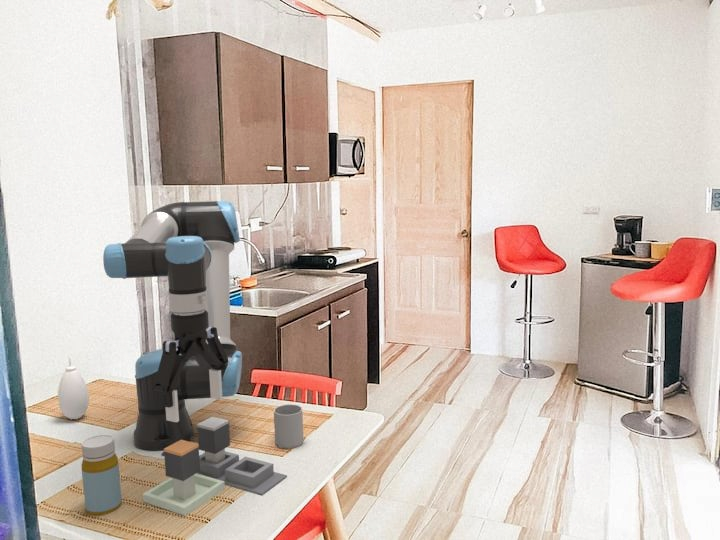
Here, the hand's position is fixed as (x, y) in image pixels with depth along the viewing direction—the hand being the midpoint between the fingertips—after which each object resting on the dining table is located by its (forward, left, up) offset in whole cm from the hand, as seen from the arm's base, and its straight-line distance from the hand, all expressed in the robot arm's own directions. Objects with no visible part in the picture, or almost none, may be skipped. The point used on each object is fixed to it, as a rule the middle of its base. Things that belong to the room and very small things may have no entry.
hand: (195, 409), depth 133 cm
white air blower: (-62, +15, -20) cm, 67 cm away
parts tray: (-2, -3, -19) cm, 20 cm away
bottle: (-14, -14, -20) cm, 28 cm away
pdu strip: (-4, +9, -19) cm, 22 cm away
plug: (-2, -3, -19) cm, 19 cm away
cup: (+1, +30, -20) cm, 36 cm away
